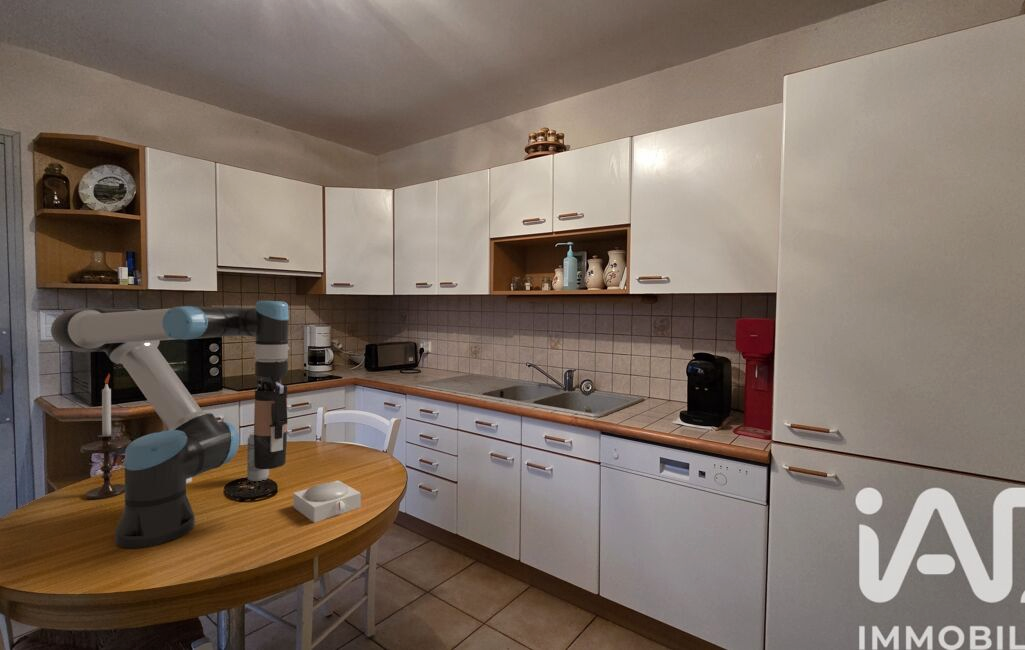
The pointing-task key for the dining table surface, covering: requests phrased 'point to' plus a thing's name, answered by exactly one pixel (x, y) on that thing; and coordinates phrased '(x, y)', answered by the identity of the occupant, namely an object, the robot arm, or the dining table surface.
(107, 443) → the candlestick
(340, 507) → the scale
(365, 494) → the dining table surface
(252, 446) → the energy drink can
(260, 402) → the travel mug
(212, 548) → the dining table surface
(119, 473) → the dining table surface
